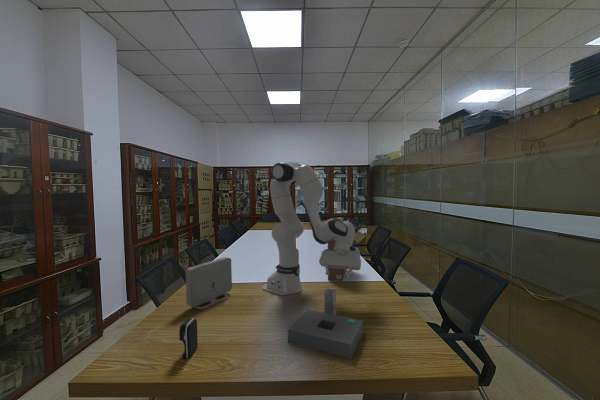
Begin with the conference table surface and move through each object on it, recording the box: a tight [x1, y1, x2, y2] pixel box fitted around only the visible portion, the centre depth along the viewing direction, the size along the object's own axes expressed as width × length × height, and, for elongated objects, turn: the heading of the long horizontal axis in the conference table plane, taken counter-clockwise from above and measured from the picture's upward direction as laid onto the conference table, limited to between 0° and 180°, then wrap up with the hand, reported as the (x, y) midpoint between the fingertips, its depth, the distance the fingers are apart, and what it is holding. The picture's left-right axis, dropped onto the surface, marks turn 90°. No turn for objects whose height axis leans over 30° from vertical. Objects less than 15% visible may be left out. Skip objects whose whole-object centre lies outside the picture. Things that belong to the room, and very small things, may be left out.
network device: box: [185, 256, 233, 310], centre depth 140 cm, size 26×9×20 cm, turn 148°
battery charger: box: [178, 318, 199, 359], centre depth 96 cm, size 7×4×11 cm, turn 177°
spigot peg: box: [323, 288, 337, 315], centre depth 120 cm, size 4×4×12 cm
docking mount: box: [287, 309, 364, 360], centre depth 105 cm, size 24×18×5 cm
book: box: [327, 239, 347, 282], centre depth 179 cm, size 25×9×30 cm, turn 166°
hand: (336, 275), depth 128 cm, fingers open, 8 cm apart
